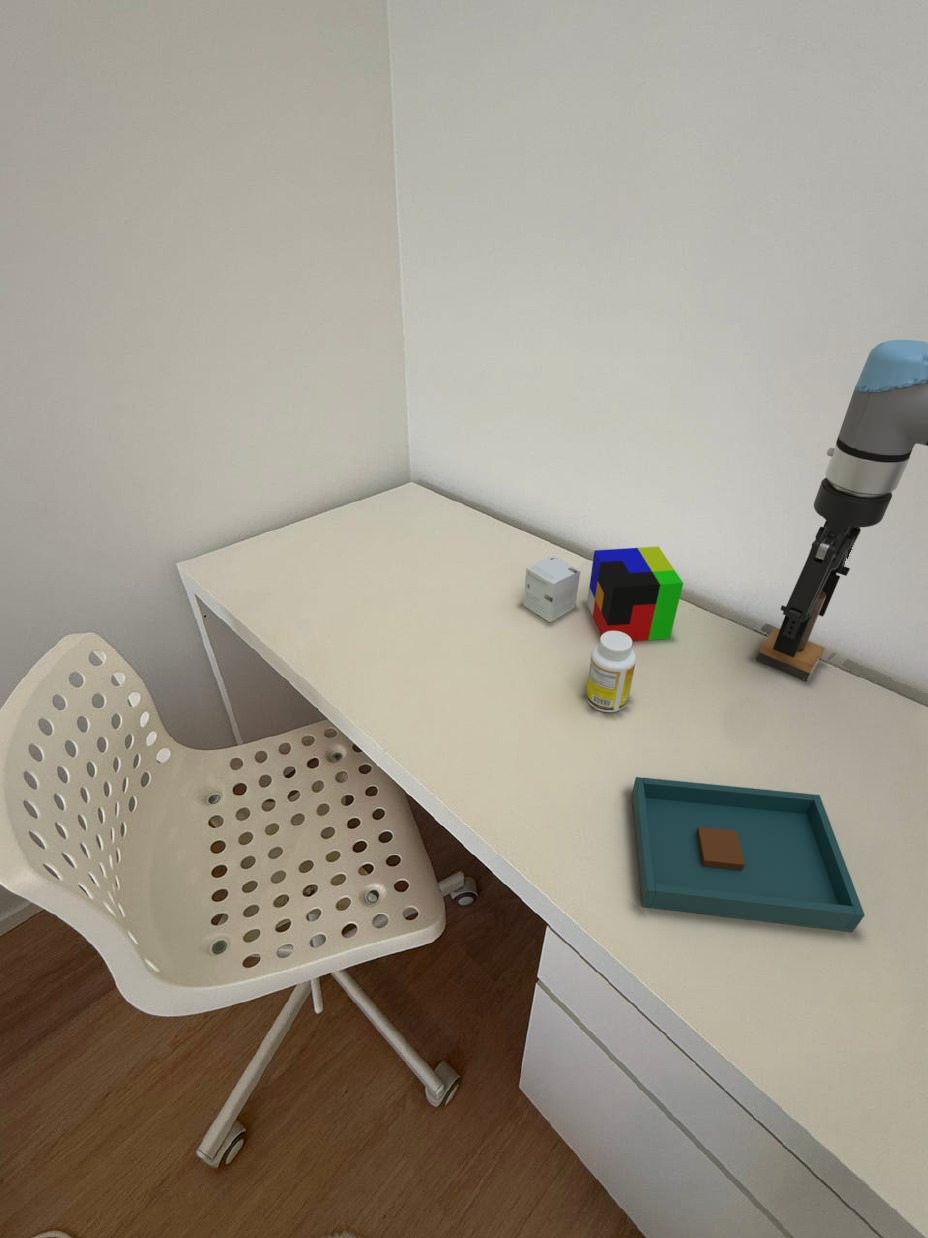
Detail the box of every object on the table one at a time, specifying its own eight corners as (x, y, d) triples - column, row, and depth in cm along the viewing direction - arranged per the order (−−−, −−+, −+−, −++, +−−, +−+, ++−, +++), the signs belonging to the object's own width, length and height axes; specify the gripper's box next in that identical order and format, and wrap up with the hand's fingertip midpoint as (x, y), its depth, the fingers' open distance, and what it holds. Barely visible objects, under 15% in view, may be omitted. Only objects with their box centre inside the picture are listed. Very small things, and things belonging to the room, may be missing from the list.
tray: (810, 812, 72) (819, 794, 70) (852, 932, 61) (865, 915, 59) (631, 794, 74) (635, 776, 72) (642, 907, 63) (647, 890, 61)
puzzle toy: (586, 604, 104) (594, 550, 98) (647, 599, 104) (658, 546, 98) (604, 643, 96) (613, 587, 90) (669, 638, 96) (683, 582, 90)
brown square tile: (734, 837, 69) (737, 830, 68) (742, 871, 66) (745, 864, 65) (695, 833, 69) (698, 826, 68) (701, 866, 66) (704, 860, 65)
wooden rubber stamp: (818, 663, 92) (848, 594, 85) (806, 682, 89) (836, 612, 82) (769, 643, 96) (794, 575, 88) (756, 660, 93) (780, 591, 85)
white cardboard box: (522, 606, 103) (524, 567, 99) (548, 592, 106) (552, 553, 102) (550, 623, 99) (554, 584, 95) (576, 608, 103) (581, 569, 98)
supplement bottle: (618, 683, 89) (629, 624, 83) (633, 711, 84) (646, 651, 78) (579, 687, 88) (587, 628, 82) (592, 717, 84) (602, 657, 77)
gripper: (853, 446, 85) (800, 584, 98) (789, 509, 70) (738, 661, 84) (917, 461, 81) (853, 603, 94) (863, 532, 67) (797, 688, 80)
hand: (799, 631), depth 89 cm, fingers open, 11 cm apart
